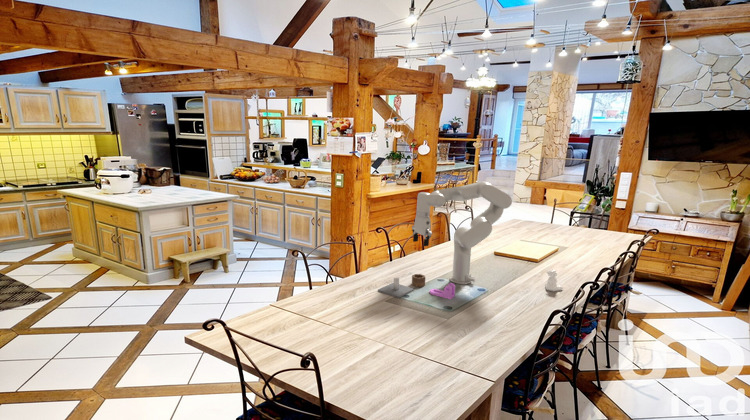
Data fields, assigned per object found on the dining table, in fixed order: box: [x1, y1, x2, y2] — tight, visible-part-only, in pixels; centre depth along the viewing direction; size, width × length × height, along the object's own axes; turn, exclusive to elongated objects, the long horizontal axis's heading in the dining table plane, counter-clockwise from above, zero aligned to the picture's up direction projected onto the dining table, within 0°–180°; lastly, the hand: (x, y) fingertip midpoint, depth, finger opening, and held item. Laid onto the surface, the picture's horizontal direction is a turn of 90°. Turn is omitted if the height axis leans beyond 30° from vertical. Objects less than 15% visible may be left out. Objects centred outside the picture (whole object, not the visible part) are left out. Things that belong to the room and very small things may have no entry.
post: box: [377, 277, 415, 299], centre depth 220 cm, size 14×14×7 cm
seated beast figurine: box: [544, 268, 564, 292], centre depth 226 cm, size 10×9×12 cm
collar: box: [411, 273, 426, 288], centre depth 230 cm, size 7×7×5 cm
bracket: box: [429, 282, 456, 300], centre depth 216 cm, size 13×6×7 cm, turn 56°
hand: (420, 243), depth 233 cm, fingers open, 9 cm apart
